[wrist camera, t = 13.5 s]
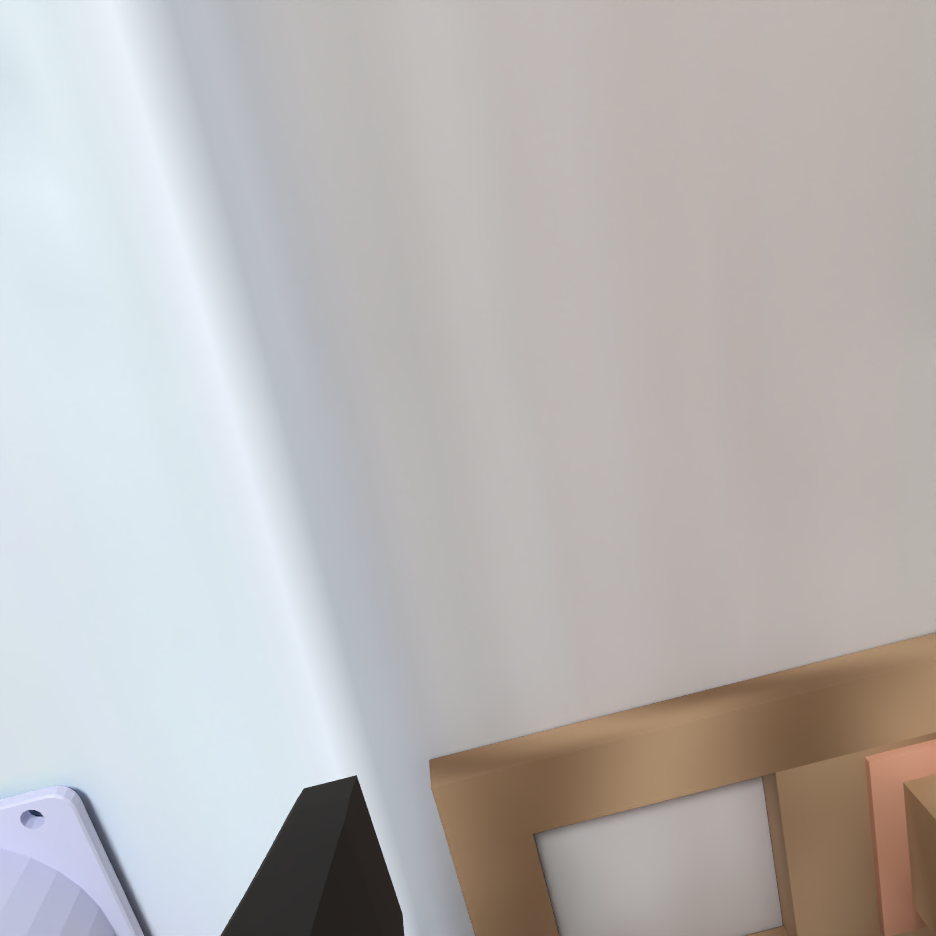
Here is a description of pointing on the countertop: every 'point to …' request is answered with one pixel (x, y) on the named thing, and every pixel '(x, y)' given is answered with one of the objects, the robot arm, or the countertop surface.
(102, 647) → the countertop surface
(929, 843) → the maple block
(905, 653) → the puzzle board
